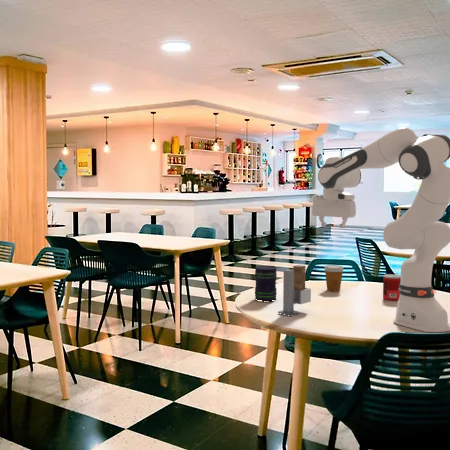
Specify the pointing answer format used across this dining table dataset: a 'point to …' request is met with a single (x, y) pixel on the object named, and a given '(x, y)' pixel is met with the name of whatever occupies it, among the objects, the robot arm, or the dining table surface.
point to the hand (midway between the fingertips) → (332, 227)
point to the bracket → (293, 294)
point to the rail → (299, 277)
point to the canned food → (391, 287)
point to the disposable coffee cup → (333, 277)
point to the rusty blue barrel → (265, 283)
